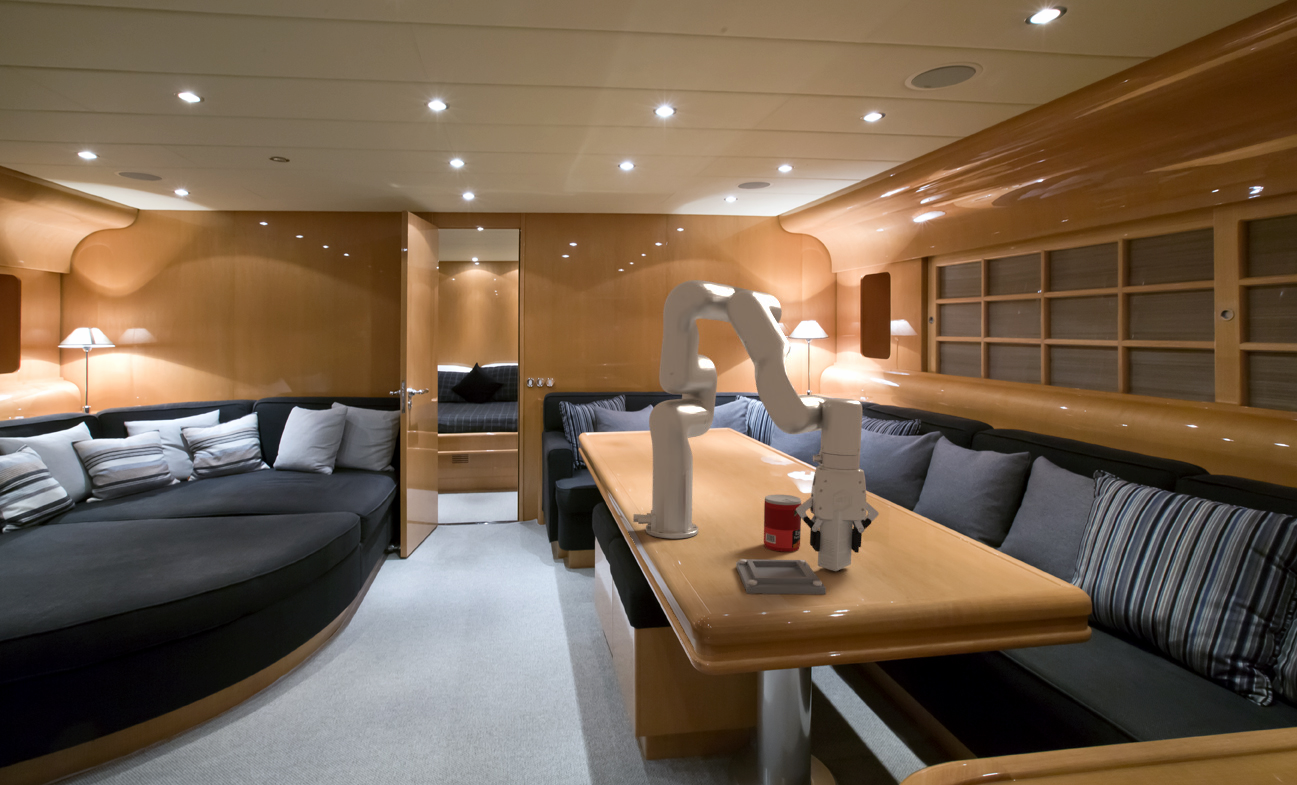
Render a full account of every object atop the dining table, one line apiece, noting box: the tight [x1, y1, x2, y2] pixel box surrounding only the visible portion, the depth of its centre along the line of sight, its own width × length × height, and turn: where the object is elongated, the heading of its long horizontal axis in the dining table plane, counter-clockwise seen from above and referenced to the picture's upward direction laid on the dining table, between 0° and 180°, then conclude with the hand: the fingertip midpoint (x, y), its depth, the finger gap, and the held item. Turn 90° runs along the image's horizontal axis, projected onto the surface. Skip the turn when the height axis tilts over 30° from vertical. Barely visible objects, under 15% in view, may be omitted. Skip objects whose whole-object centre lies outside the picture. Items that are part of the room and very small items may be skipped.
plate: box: [735, 558, 827, 595], centre depth 121 cm, size 14×14×2 cm
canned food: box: [763, 494, 802, 553], centre depth 142 cm, size 8×8×11 cm
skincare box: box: [817, 510, 854, 572], centre depth 127 cm, size 6×4×12 cm
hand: (835, 549), depth 127 cm, fingers closed on skincare box, 7 cm apart
